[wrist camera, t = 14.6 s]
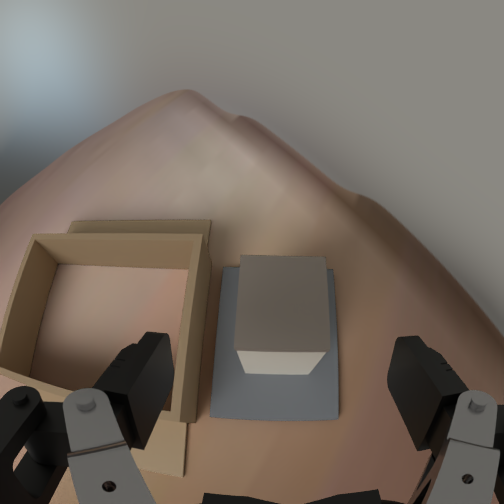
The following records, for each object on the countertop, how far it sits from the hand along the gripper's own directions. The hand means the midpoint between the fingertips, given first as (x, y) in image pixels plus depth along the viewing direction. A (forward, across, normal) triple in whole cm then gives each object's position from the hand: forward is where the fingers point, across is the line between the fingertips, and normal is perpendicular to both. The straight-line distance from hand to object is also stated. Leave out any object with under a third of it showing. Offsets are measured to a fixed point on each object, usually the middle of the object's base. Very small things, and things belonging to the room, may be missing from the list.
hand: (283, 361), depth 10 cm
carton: (+12, +14, +6) cm, 19 cm away
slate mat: (+12, 0, +6) cm, 13 cm away
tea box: (+11, 0, +6) cm, 13 cm away
